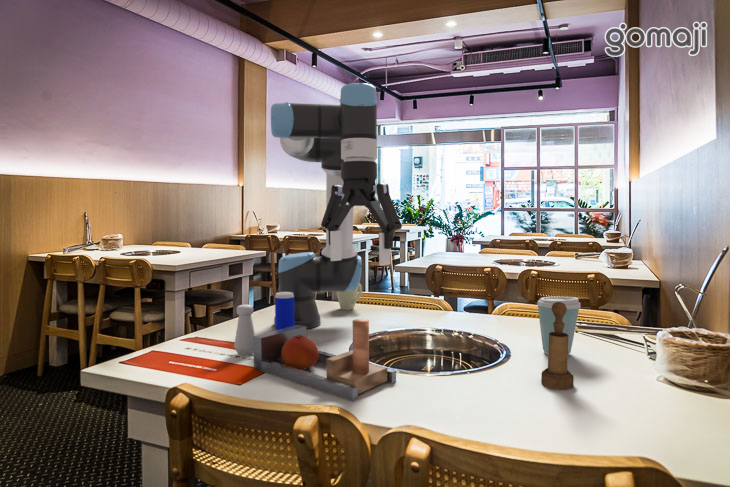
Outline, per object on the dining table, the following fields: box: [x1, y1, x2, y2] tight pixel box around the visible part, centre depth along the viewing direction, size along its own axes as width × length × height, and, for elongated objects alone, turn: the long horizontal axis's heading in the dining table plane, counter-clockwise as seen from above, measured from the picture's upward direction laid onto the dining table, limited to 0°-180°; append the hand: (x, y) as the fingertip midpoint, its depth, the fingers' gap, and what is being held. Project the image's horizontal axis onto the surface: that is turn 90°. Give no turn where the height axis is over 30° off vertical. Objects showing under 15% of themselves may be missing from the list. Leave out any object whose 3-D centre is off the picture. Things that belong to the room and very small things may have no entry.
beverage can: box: [274, 291, 294, 330], centre depth 139 cm, size 5×5×15 cm
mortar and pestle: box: [540, 302, 574, 391], centre depth 109 cm, size 7×6×18 cm
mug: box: [335, 282, 363, 311], centre depth 189 cm, size 11×10×12 cm
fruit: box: [281, 335, 319, 371], centre depth 121 cm, size 9×9×8 cm
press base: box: [253, 325, 397, 402], centre depth 116 cm, size 14×32×8 cm, turn 50°
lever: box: [326, 318, 388, 394], centre depth 109 cm, size 11×8×14 cm
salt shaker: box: [233, 303, 256, 357], centre depth 132 cm, size 6×6×13 cm
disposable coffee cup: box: [536, 296, 582, 357], centre depth 132 cm, size 11×11×15 cm
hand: (359, 262), depth 107 cm, fingers open, 13 cm apart
